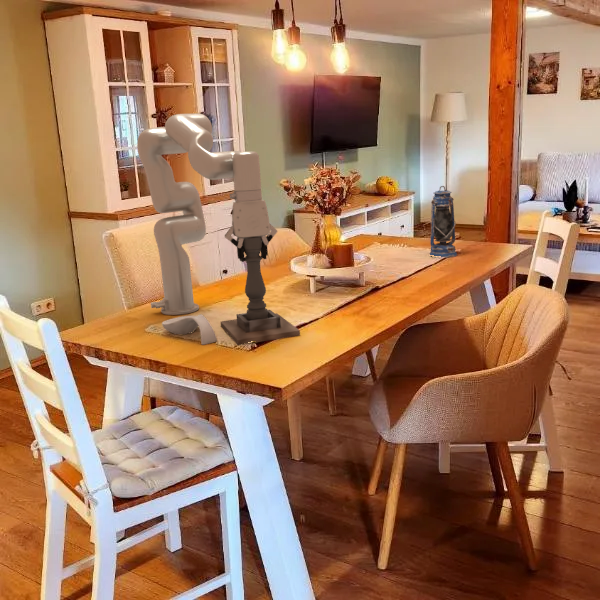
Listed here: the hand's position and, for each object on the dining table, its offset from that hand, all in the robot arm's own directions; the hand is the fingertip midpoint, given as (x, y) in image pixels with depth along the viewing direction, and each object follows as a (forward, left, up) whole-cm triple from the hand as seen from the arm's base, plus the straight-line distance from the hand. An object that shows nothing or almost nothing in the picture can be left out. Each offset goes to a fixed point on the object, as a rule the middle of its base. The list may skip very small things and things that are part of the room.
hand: (253, 259), depth 198 cm
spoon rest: (-19, +6, -22) cm, 29 cm away
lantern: (+104, +73, -22) cm, 129 cm away
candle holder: (0, 0, -19) cm, 19 cm away
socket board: (0, 0, -21) cm, 21 cm away
